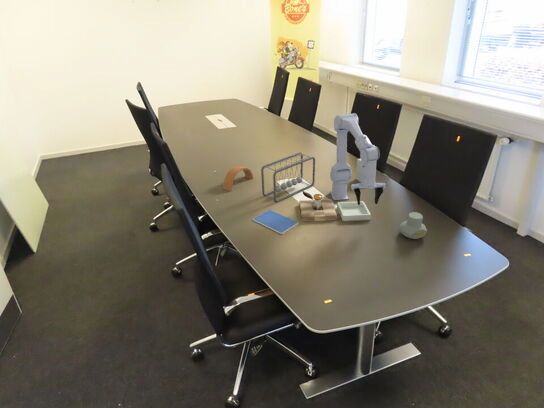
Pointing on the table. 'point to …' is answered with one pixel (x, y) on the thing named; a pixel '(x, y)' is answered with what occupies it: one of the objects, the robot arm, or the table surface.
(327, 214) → the pin plate
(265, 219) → the tablet computer
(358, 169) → the supplement box
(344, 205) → the tray
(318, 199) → the pin
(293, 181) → the newton's cradle
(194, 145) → the table surface
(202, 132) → the table surface
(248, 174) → the arch
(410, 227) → the air freshener
